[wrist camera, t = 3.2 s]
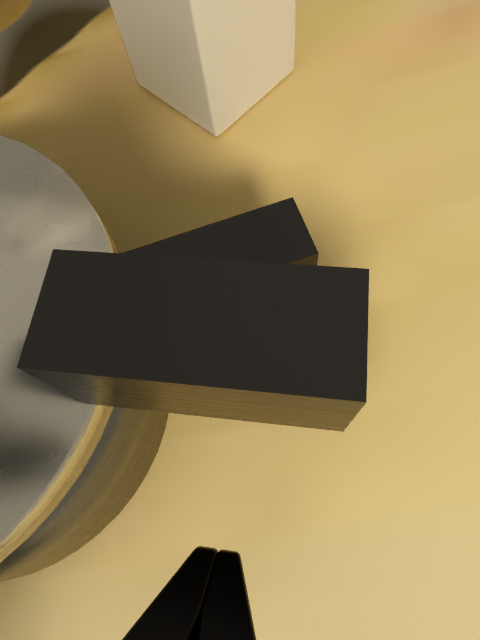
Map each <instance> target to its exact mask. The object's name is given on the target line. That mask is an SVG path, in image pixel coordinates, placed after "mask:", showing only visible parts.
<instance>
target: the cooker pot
mask: <svg viewBox="0 0 480 640" xmlns="http://www.w3.org/2000/svg"><path fill="white" fill-rule="evenodd" d="M123 254H139V255H155V256H171V257H187V258H202V259H218V260H234V261H250V262H266V263H281V264H297V265H313V266H317V259H318V251H317V249H316V247H315V245H314V243H313V240H312V238H311V236H310V234H309V232H308V229H307V227H306V225H305V223H304V221H303V219H302V216H301V214H300V212H299V210H298V208H297V205H296V203H295V201H294V199H293V197H292V198H289V199H286V200H283V201H280V202H277V203H274V204H271V205H268V206H265V207H262V208H259V209H256V210H252V211H249V212H246V213H243V214H240V215H237V216H234V217H231V218H228V219H225V220H222V221H219V222H216V223H213V224H210V225H207V226H204V227H201V228H198V229H194V230H191V231H188V232H185V233H182V234H179V235H176V236H173V237H170V238H167V239H164V240H161V241H158V242H155V243H152V244H149V245H146V246H143V247H140V248H137V249H133V250H130V251H127V252H124V253H123ZM167 417H168V413H167V412H158V411H149V410H139V409H130V408H121V407H114V408H113V411H112V413H111V415H110V418H109V420H108V422H107V425H106V427H105V430H104V432H103V434H102V437H101V439H100V441H99V442H98V444H97V446H96V448H95V450H94V451H93V453H92V455H91V457H90V458H89V460H88V462H87V464H86V466H85V467H84V469H83V471H82V473H81V474H80V475H79V477H78V478H77V480H76V481H75V482H74V484H73V485H72V487H71V488H70V489H69V491H68V492H67V493H66V495H65V496H64V498H63V499H62V500H61V502H60V503H59V505H58V506H57V507H56V508H55V509H54V510H53V512H52V513H51V514H50V515H49V516H48V517H47V518H46V519H45V520H44V521H43V523H42V524H41V525H40V526H39V527H38V528H37V529H36V530H35V531H34V532H33V534H32V535H31V536H30V537H29V538H28V539H27V540H26V541H24V542H23V543H22V544H21V545H20V546H19V547H18V548H17V549H15V550H14V551H13V552H12V553H11V554H10V555H9V556H7V557H6V558H5V559H4V560H3V561H2V562H1V563H0V582H2V581H6V580H10V579H13V578H17V577H21V576H24V575H28V574H32V573H34V572H36V571H39V570H41V569H43V568H46V567H48V566H50V565H53V564H55V563H57V562H58V561H60V560H62V559H63V558H65V557H67V556H69V555H70V554H72V553H74V552H75V551H77V550H79V549H80V548H81V547H82V546H84V545H85V544H86V543H88V542H89V541H90V540H91V539H93V538H94V537H95V536H97V535H98V534H99V533H100V532H101V531H102V530H103V529H104V528H105V527H106V526H107V525H108V524H109V523H110V522H111V521H112V520H113V519H114V518H115V517H116V516H117V515H118V514H119V513H120V512H121V510H122V509H123V508H124V507H125V505H126V504H127V503H128V502H129V500H130V499H131V498H132V497H133V495H134V494H135V492H136V491H137V489H138V487H139V486H140V484H141V483H142V481H143V479H144V478H145V476H146V475H147V473H148V471H149V469H150V466H151V464H152V462H153V460H154V458H155V456H156V454H157V452H158V449H159V446H160V443H161V440H162V437H163V434H164V431H165V428H166V423H167Z"/></svg>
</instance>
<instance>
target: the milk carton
mask: <svg viewBox="0 0 480 640" xmlns="http://www.w3.org/2000/svg"><path fill="white" fill-rule="evenodd" d="M109 2H110V4H111V7H112V10H113V13H114V16H115V19H116V22H117V25H118V28H119V30H120V33H121V36H122V39H123V42H124V45H125V48H126V51H127V54H128V56H129V59H130V62H131V65H132V68H133V71H134V74H135V77H136V80H137V82H138V84H139V85H141V86H142V87H144V88H145V89H147V90H148V91H149V92H151V93H152V94H154V95H155V96H157V97H158V98H160V99H161V100H163V101H164V102H166V103H167V104H168V105H170V106H171V107H173V108H174V109H176V110H177V111H179V112H180V113H182V114H183V115H185V116H186V117H188V118H189V119H191V120H192V121H193V122H195V123H196V124H198V125H199V126H201V127H202V128H204V129H205V130H207V131H208V132H210V133H211V134H213V135H214V136H216V137H217V136H219V135H220V134H221V133H223V132H224V131H225V130H226V129H227V128H228V127H229V126H231V125H232V124H233V123H234V122H235V121H236V120H237V119H238V118H240V117H241V116H242V115H243V114H244V113H245V112H246V111H248V110H249V109H250V108H251V107H252V106H253V105H254V104H255V103H257V102H258V101H259V100H260V99H261V98H262V97H263V96H264V95H266V94H267V93H268V92H269V91H270V90H271V89H272V88H274V87H275V86H276V85H277V84H278V83H279V82H280V81H281V80H283V79H284V78H285V77H286V76H287V75H288V74H289V73H290V72H291V71H292V70H293V69H294V47H295V2H296V0H109Z"/></svg>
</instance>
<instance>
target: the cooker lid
mask: <svg viewBox="0 0 480 640" xmlns="http://www.w3.org/2000/svg"><path fill="white" fill-rule="evenodd" d="M368 293H369V269H361V268H345V267H329V266H313V265H297V264H281V263H266V262H250V261H234V260H218V259H202V258H187V257H171V256H155V255H139V254H123V253H118V251H117V249H116V246H115V244H114V242H113V240H112V238H111V236H110V233H109V231H108V230H107V228H106V227H105V225H104V224H103V222H102V220H101V219H100V217H99V216H98V214H97V213H96V211H95V210H94V208H93V206H92V205H91V203H90V202H89V201H88V199H87V198H86V196H85V195H84V193H83V192H82V190H81V189H80V187H79V186H78V185H77V184H76V183H75V182H74V181H73V180H72V179H71V177H70V176H69V175H68V174H67V173H66V172H65V171H64V170H63V169H62V168H61V167H59V166H58V165H57V164H55V163H54V162H53V161H51V160H50V159H49V158H47V157H46V156H45V155H43V154H42V153H40V152H38V151H36V150H34V149H33V148H31V147H29V146H27V145H25V144H23V143H21V142H19V141H16V140H13V139H10V138H8V137H5V136H2V135H0V563H1V562H2V561H3V560H4V559H5V558H6V557H7V556H9V555H10V554H11V553H12V552H13V551H14V550H15V549H17V548H18V547H19V546H20V545H21V544H22V543H23V542H24V541H26V540H27V539H28V538H29V537H30V536H31V535H32V534H33V532H34V531H35V530H36V529H37V528H38V527H39V526H40V525H41V524H42V523H43V521H44V520H45V519H46V518H47V517H48V516H49V515H50V514H51V513H52V512H53V510H54V509H55V508H56V507H57V506H58V505H59V503H60V502H61V500H62V499H63V498H64V496H65V495H66V493H67V492H68V491H69V489H70V488H71V487H72V485H73V484H74V482H75V481H76V480H77V478H78V477H79V475H80V474H81V473H82V471H83V469H84V467H85V466H86V464H87V462H88V460H89V458H90V457H91V455H92V453H93V451H94V450H95V448H96V446H97V444H98V442H99V441H100V439H101V437H102V434H103V432H104V430H105V427H106V425H107V422H108V420H109V418H110V415H111V413H112V411H113V408H114V407H121V408H130V409H139V410H149V411H158V412H167V413H177V414H186V415H195V416H204V417H214V418H223V419H232V420H242V421H251V422H260V423H269V424H279V425H288V426H297V427H307V428H316V429H325V430H334V431H344V430H345V429H346V427H347V426H348V425H349V423H350V422H351V421H352V420H353V418H354V417H355V416H356V415H357V413H358V412H359V411H360V410H361V408H362V407H363V406H364V405H365V403H366V389H367V341H368Z"/></svg>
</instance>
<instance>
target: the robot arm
mask: <svg viewBox="0 0 480 640" xmlns="http://www.w3.org/2000/svg"><path fill="white" fill-rule="evenodd" d="M122 640H256V636H255V631H254V626H253V621H252V615H251V610H250V605H249V599H248V594H247V589H246V583H245V578H244V573H243V568H242V562H241V557H240V554H239V553H238V552H235V551H228V550H220V551H219V552H218V551H217V549H215V548H209V547H202V546H199V547H197V548H196V549H195V550H194V551H193V552H192V553H191V554H190V556H189V557H188V558H187V559H186V561H185V562H184V563H183V564H182V566H181V567H180V568H179V569H178V571H177V572H176V573H175V574H174V576H173V577H172V578H171V579H170V581H169V582H168V583H167V584H166V586H165V587H164V588H163V589H162V591H161V592H160V593H159V594H158V596H157V597H156V598H155V599H154V601H153V602H152V603H151V604H150V606H149V607H148V608H147V609H146V611H145V612H144V613H143V614H142V616H141V617H140V618H139V619H138V621H137V622H136V623H135V624H134V626H133V627H132V628H131V629H130V631H129V632H128V633H127V634H126V636H125V637H124V638H123V639H122Z"/></svg>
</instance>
